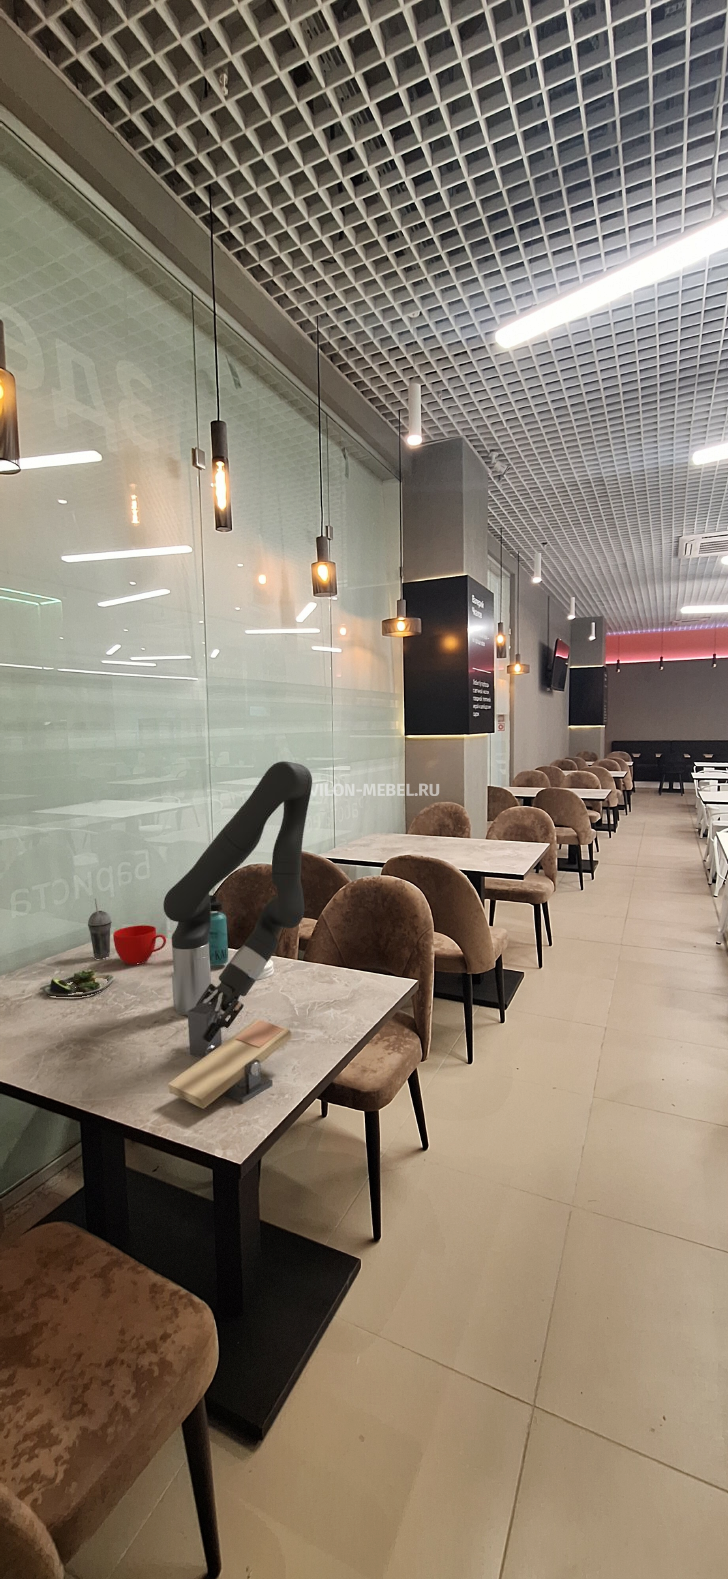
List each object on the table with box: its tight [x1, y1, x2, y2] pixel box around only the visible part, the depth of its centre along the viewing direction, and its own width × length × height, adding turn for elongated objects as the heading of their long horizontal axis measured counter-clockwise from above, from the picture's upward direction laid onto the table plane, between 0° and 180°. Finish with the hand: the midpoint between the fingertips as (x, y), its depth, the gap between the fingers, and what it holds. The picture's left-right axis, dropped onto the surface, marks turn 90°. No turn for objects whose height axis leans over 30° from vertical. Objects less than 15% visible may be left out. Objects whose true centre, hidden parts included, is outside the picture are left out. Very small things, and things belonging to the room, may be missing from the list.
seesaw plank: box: [167, 1018, 292, 1110], centre depth 134 cm, size 10×24×2 cm, turn 143°
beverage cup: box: [87, 898, 112, 959], centre depth 217 cm, size 7×7×20 cm
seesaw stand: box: [206, 1044, 273, 1104], centre depth 135 cm, size 14×8×6 cm, turn 53°
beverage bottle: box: [209, 901, 229, 966], centre depth 205 cm, size 6×7×20 cm
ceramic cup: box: [112, 924, 167, 965], centre depth 213 cm, size 13×17×10 cm
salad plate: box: [38, 968, 115, 997], centre depth 193 cm, size 19×18×5 cm
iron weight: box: [187, 1003, 223, 1058], centre depth 149 cm, size 5×5×10 cm
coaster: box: [256, 958, 275, 981], centre depth 198 cm, size 10×10×4 cm
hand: (198, 1034), depth 148 cm, fingers closed on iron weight, 7 cm apart
